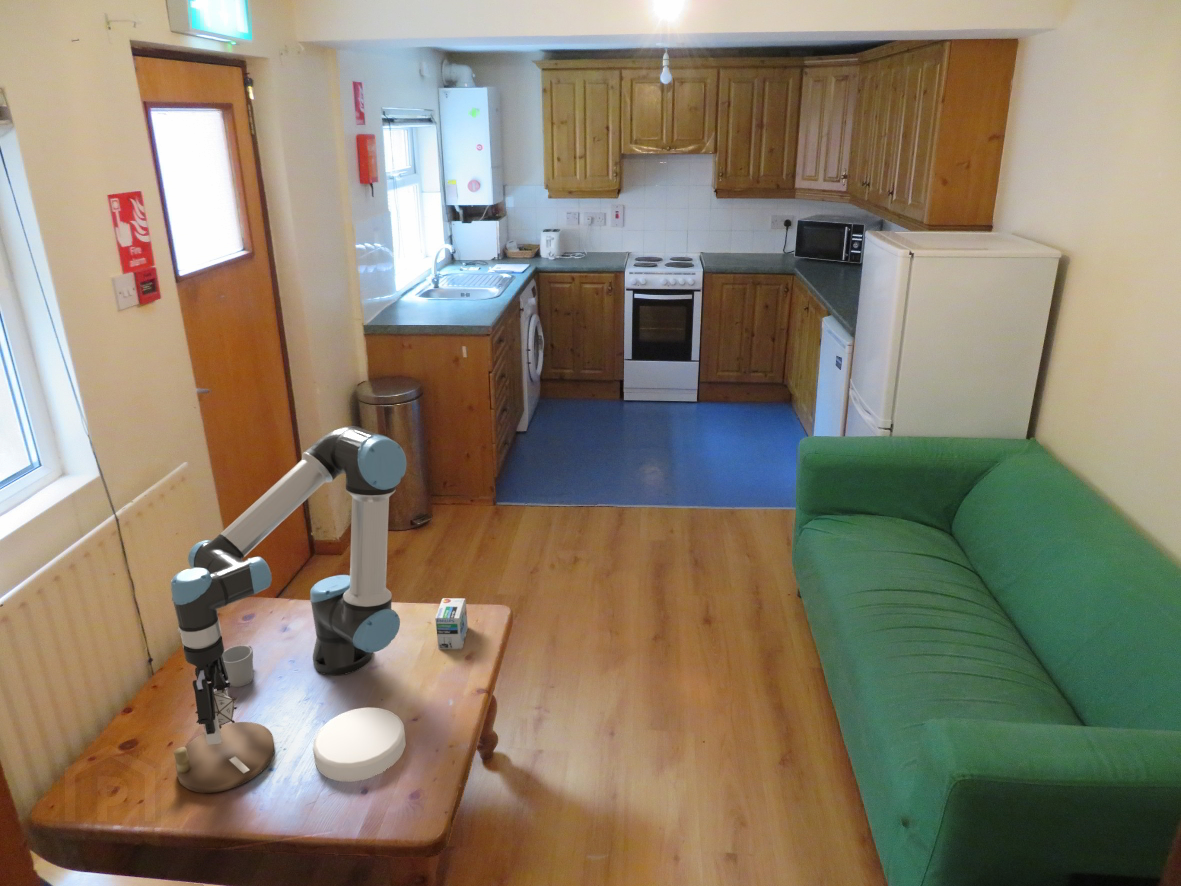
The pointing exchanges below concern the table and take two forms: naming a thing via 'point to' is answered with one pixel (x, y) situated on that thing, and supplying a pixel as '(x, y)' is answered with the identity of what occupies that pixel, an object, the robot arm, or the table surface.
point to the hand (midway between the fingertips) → (219, 728)
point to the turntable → (225, 758)
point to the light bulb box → (451, 623)
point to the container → (359, 744)
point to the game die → (223, 708)
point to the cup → (239, 665)
